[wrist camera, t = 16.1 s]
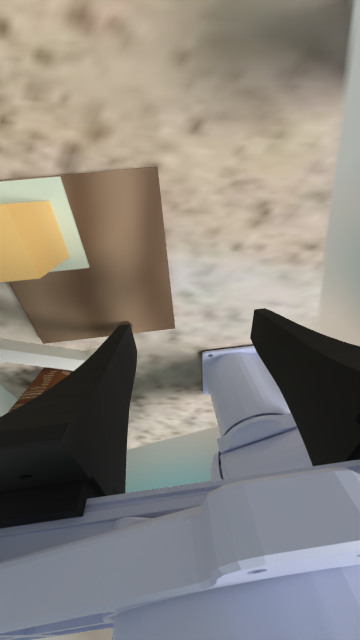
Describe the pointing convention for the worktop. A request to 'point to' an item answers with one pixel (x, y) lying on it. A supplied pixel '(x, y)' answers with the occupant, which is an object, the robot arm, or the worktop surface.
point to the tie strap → (42, 355)
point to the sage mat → (56, 195)
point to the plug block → (29, 241)
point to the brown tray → (106, 261)
